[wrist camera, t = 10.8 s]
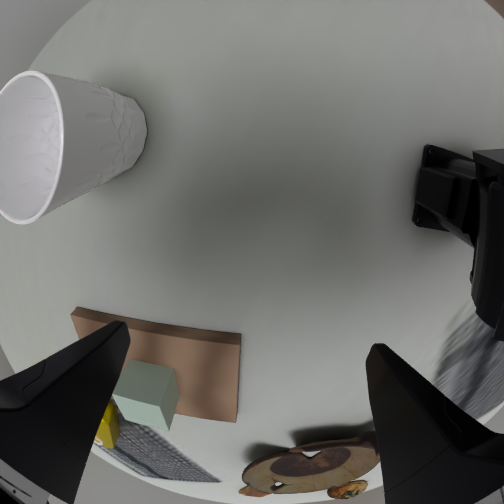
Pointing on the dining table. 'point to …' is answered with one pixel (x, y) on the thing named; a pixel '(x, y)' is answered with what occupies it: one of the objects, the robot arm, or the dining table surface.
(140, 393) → the sage cube
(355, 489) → the bread roll
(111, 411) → the element tile
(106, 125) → the white cup
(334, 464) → the oil lamp
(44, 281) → the dining table surface
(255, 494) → the shard
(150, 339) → the walnut board
